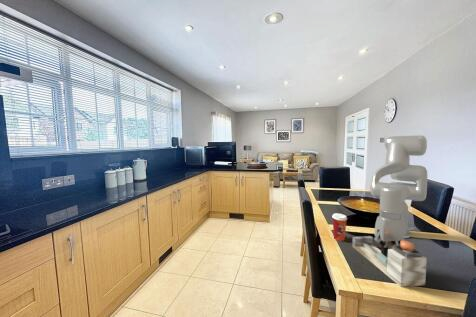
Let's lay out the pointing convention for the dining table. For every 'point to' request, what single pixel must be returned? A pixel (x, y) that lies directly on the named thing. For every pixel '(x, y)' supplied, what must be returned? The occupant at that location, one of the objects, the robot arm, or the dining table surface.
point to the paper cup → (339, 226)
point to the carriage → (382, 257)
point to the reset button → (407, 245)
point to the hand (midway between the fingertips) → (388, 254)
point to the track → (395, 262)
